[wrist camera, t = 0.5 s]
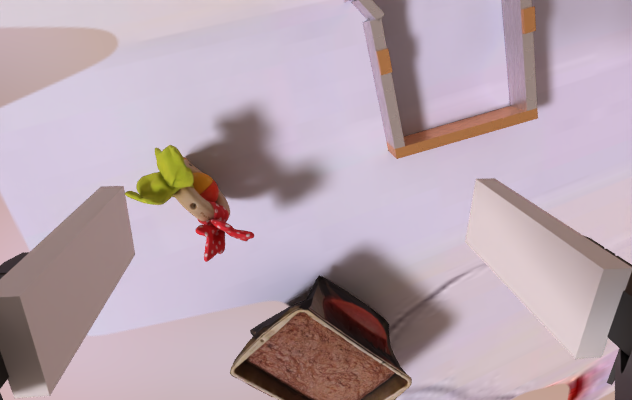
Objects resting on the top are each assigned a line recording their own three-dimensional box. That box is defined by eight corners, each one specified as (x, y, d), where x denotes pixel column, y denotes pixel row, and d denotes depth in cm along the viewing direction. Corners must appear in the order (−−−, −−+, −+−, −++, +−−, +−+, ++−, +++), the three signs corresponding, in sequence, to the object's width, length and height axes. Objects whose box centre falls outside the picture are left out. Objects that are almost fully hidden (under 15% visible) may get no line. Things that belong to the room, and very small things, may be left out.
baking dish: (316, 378, 56) (337, 452, 47) (213, 323, 47) (215, 401, 38) (397, 312, 53) (434, 378, 44) (304, 240, 44) (327, 304, 36)
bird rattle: (179, 120, 39) (154, 144, 31) (272, 189, 42) (272, 227, 34) (142, 170, 40) (109, 205, 32) (235, 232, 44) (227, 279, 35)
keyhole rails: (324, -89, 34) (330, -102, 31) (517, -145, 34) (542, -163, 31) (376, 154, 42) (385, 163, 39) (531, 109, 42) (553, 115, 39)
